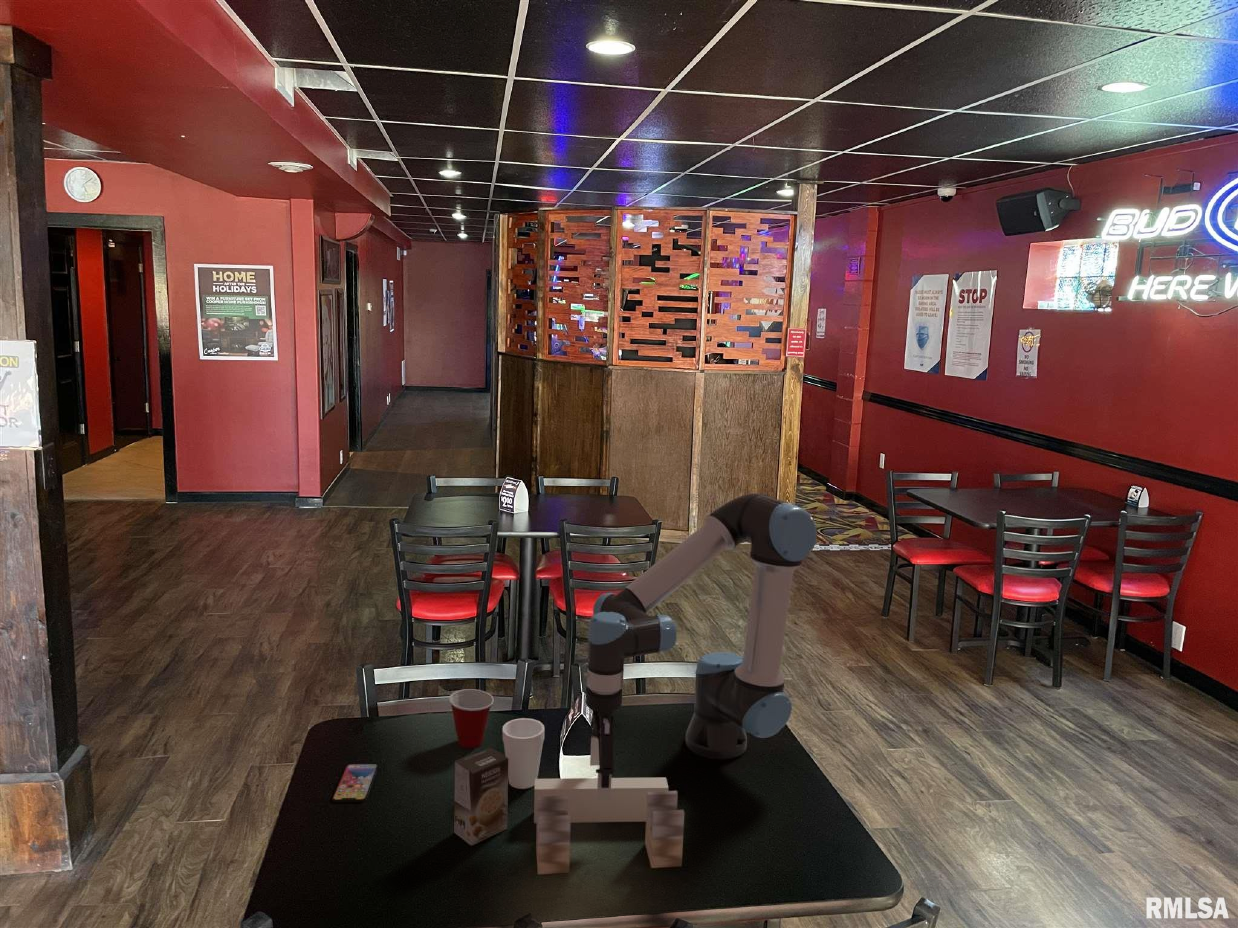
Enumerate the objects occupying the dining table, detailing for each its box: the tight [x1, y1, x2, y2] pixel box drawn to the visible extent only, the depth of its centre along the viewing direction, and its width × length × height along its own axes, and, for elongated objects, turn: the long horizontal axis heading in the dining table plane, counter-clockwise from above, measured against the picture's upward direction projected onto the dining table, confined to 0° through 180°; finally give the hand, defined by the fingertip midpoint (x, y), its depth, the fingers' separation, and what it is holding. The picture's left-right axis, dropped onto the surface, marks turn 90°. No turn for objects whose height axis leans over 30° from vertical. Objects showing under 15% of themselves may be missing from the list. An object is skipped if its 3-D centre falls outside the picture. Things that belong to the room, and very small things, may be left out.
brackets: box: [535, 790, 685, 875], centre depth 174 cm, size 28×8×12 cm, turn 98°
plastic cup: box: [448, 688, 495, 750], centre depth 216 cm, size 11×11×12 cm
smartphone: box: [331, 763, 379, 804], centre depth 199 cm, size 7×1×15 cm
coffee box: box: [453, 747, 509, 846], centre depth 181 cm, size 9×6×16 cm
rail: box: [533, 777, 669, 824], centre depth 188 cm, size 28×4×8 cm, turn 94°
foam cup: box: [502, 717, 545, 790], centre depth 200 cm, size 10×9×13 cm
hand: (599, 781), depth 187 cm, fingers open, 13 cm apart
